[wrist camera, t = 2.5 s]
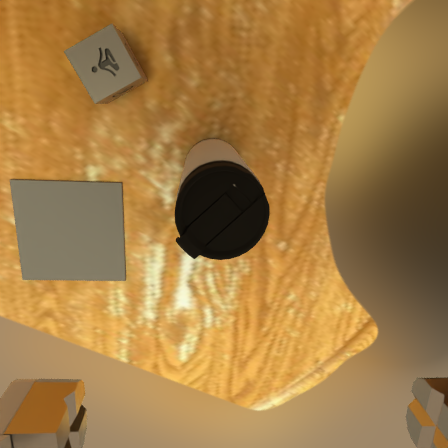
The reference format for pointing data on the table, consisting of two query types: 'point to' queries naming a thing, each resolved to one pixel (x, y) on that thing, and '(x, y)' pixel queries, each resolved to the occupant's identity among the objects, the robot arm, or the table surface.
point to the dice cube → (106, 65)
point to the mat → (69, 229)
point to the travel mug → (219, 203)
